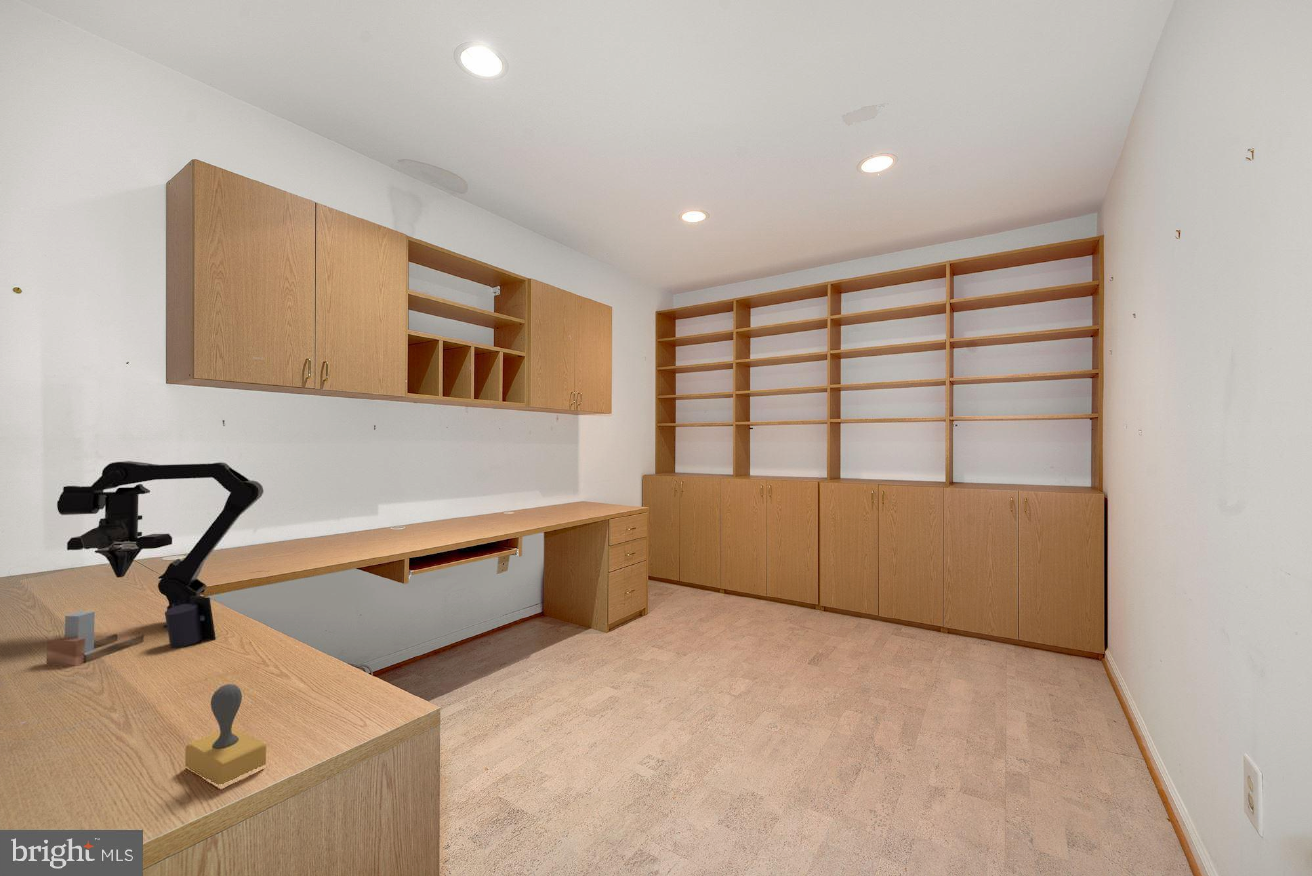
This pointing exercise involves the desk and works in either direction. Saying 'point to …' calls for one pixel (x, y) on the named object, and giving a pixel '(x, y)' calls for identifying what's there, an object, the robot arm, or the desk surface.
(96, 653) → the guide track
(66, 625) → the sliding block
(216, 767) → the rubber stamp
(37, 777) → the desk surface
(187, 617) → the speaker
